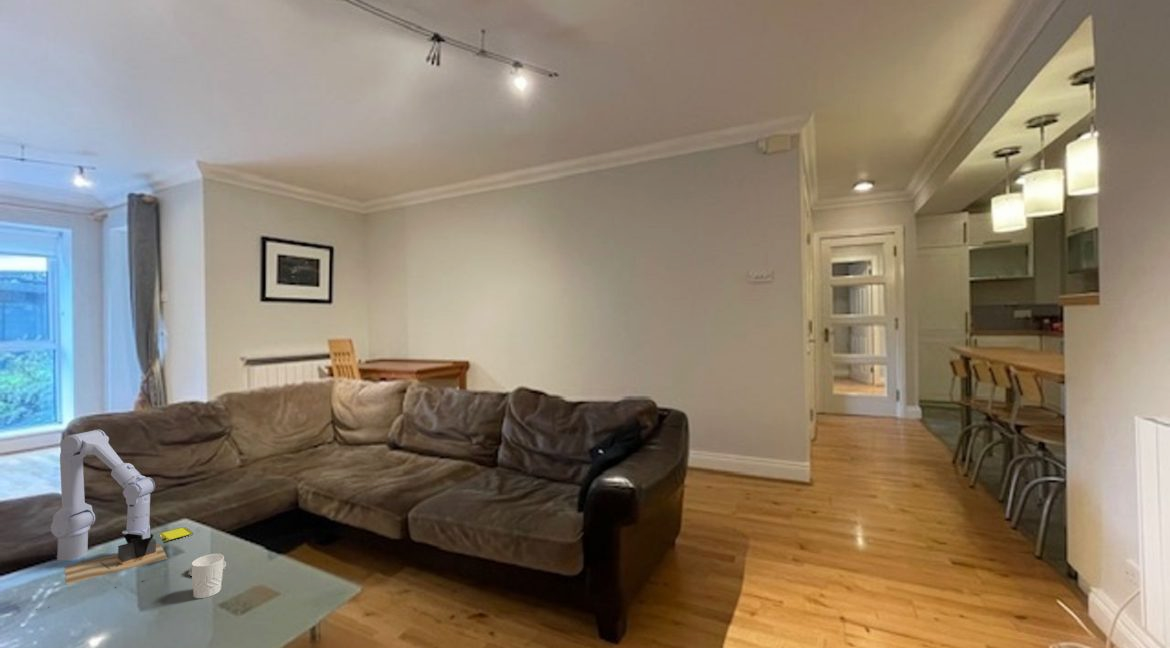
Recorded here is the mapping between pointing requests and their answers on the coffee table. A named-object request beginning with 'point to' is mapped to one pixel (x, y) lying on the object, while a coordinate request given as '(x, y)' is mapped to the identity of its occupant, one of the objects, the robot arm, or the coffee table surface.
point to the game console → (174, 534)
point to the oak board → (106, 566)
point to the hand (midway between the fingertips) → (137, 554)
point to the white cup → (207, 575)
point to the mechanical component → (202, 556)
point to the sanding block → (128, 552)
